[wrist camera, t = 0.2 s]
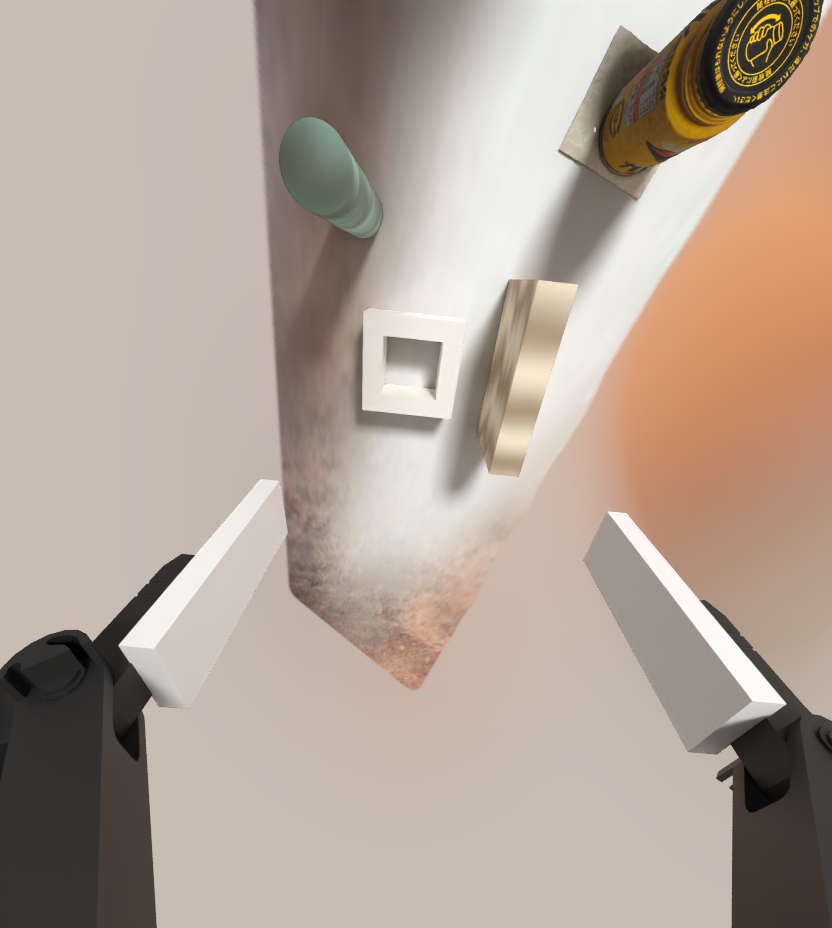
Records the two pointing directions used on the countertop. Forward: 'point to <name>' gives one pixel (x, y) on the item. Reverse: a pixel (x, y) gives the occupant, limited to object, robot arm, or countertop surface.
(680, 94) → the condiment
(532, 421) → the wall
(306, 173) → the dowel
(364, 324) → the socket block
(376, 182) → the countertop surface
